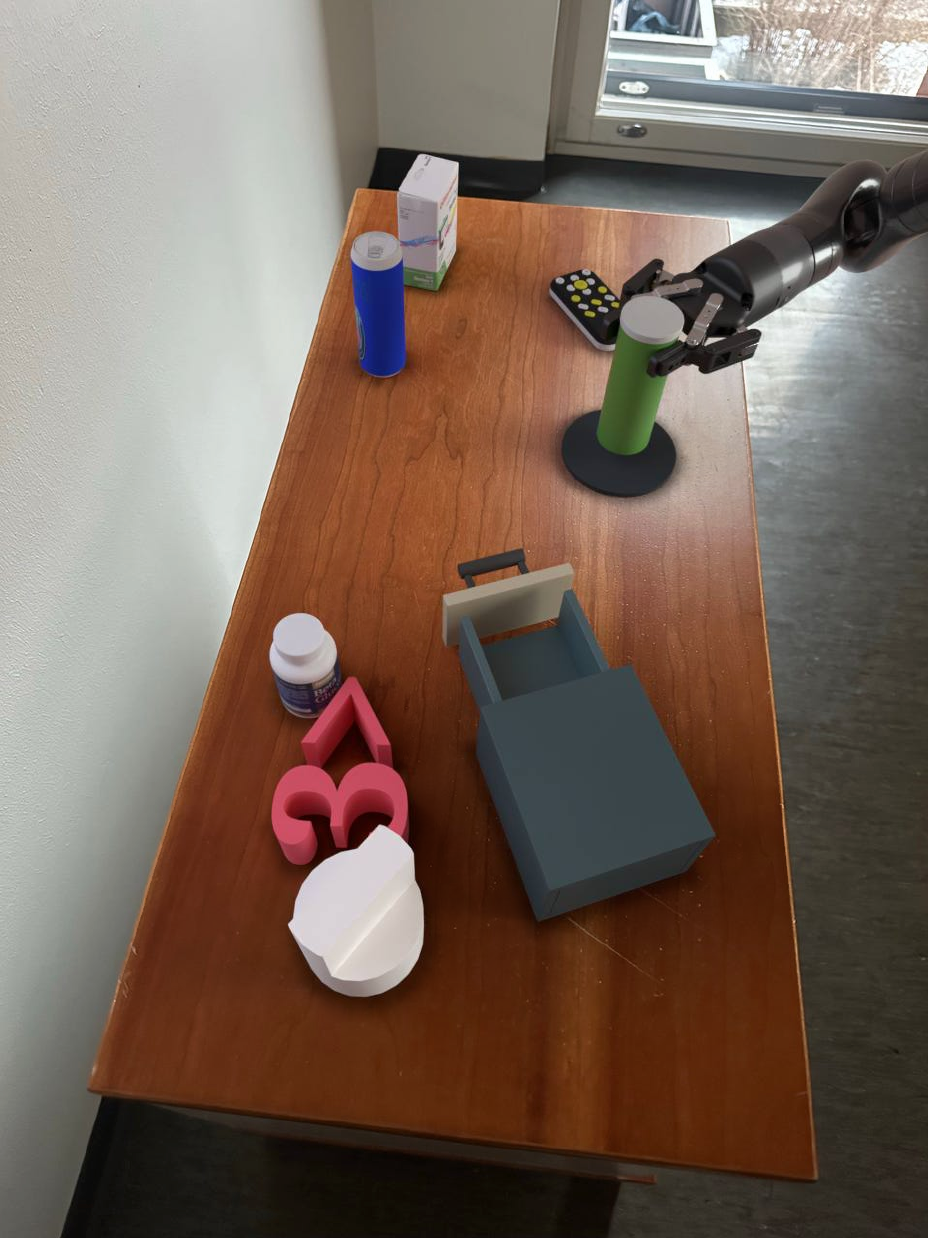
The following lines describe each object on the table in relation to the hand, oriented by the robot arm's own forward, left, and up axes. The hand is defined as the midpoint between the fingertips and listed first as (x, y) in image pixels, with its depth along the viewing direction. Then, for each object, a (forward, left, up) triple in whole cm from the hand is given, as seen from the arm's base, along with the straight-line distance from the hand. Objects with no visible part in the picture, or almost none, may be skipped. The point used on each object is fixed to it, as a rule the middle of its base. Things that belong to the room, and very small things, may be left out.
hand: (627, 349), depth 80 cm
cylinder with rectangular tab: (+36, +38, -15) cm, 54 cm away
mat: (-2, -1, -15) cm, 15 cm away
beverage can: (+18, -21, -15) cm, 31 cm away
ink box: (+8, -36, -15) cm, 40 cm away
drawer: (+17, +20, -14) cm, 30 cm away
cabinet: (+17, +34, -15) cm, 41 cm away
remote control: (-8, -22, -15) cm, 28 cm away
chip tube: (-2, -1, -13) cm, 13 cm away
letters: (+34, +26, -15) cm, 45 cm away
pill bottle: (+35, +17, -15) cm, 42 cm away
